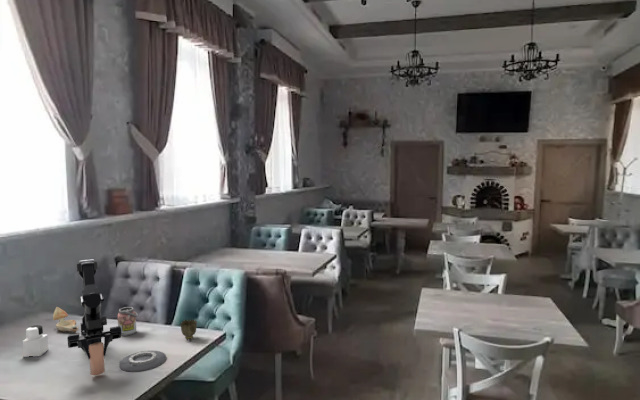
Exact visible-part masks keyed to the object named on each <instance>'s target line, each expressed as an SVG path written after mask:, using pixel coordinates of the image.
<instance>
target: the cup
mask: <svg viewBox="0 0 640 400" xmlns="http://www.w3.org/2000/svg"><path fill="white" fill-rule="evenodd" d="M197 323H198V321H197V320H195V319H188V320H187V319H184V320H182V321H181V322H180V324H179V325H180V329H181V334H182V335H183V336H184V338H185V340H188V341H189V340H192V339H193V338H194V335H195V334H196V332H197V327H198V326H197Z"/></svg>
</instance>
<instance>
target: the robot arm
mask: <svg viewBox="0 0 640 400" xmlns="http://www.w3.org/2000/svg"><path fill="white" fill-rule="evenodd" d="M98 268H99V267H98V261H97V260H95V259H94V258H92V259H91V258H90V259H82V260H79V262H78V263H77V262H76V272H78V275H79V277H80V278H81V280H82V283H83V284H82V286H83V289H82V293H81V294H82V295H81V296H80V305H81V307H83V308H84V314H83V316H82V318H81V322H80V333H73V334H69V335H68V336H67V338H66V339H67V348H69V349H71V348H76V347H77V349H79V348H80V349H81V350H82V351H83V352H84V354H85V356H86V358H87V359H88V360H90V356H89V345H90V344H92V343H96V342H102V338H104V340H103V341H104V342H102V343H103V347H104V357H105V356H106V355H107V350H108V347H109V344H110V342H111V343H112V342H113V341H114V340H117V339H120V338H122V336H121V327H120V326H118V325H117V326H113V327H112V326H111V327H110V328H109V331H108V330H107V331H104V326H107V325H108V320H107V318H108V317H107V316H106V315H105V316H102V313H101V309H102V304H103V302H104V301H105V299H104V295H102V293H100V289H99V288H98V287H97V286H96V281H95V279H96V278H95V276H96V275H95V274H96V273H97V270H98ZM80 334H81V335H80Z"/></svg>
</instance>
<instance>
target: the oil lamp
mask: <svg viewBox="0 0 640 400" xmlns="http://www.w3.org/2000/svg"><path fill="white" fill-rule="evenodd" d="M67 317H69V315H68V312H66V311H65V310H63V309H62V308H60V307H58V306H56V307H55V309H54V311H53V315H52V320H53V321H57V320H58V322H57V323H56V324H55V327H56V329H57V330H58V331H60V332H72V333H76V332H77V331H78V330H79V326H77V325H76V324H77V322H76V320H75V319H68V320H65V318H67Z"/></svg>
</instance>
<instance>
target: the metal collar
mask: <svg viewBox="0 0 640 400" xmlns="http://www.w3.org/2000/svg"><path fill="white" fill-rule="evenodd" d="M145 351H146V352H142V351H139V352H140V353H137V352H136V353H137V354H134V353H133V354H134V355H132V356H131V357H129V364H131V365H138V366H139V365H145V364H148V363H151V362H153V361H154V360H155V359H156V353H154V352H147V351H148V350H145ZM140 356H152V357H151V358H150V359H148V360H144V361H134V359H135V358H137V357H140Z"/></svg>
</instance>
